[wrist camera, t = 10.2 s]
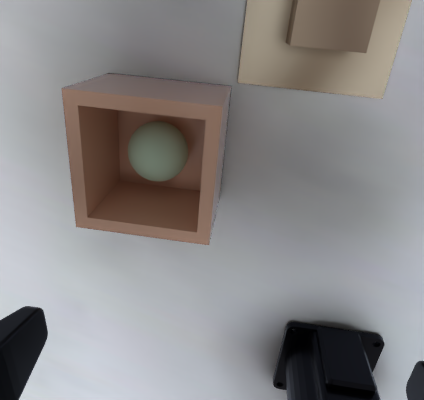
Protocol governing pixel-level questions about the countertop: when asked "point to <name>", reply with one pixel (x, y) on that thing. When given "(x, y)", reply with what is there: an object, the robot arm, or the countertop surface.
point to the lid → (322, 44)
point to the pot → (121, 167)
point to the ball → (158, 151)
